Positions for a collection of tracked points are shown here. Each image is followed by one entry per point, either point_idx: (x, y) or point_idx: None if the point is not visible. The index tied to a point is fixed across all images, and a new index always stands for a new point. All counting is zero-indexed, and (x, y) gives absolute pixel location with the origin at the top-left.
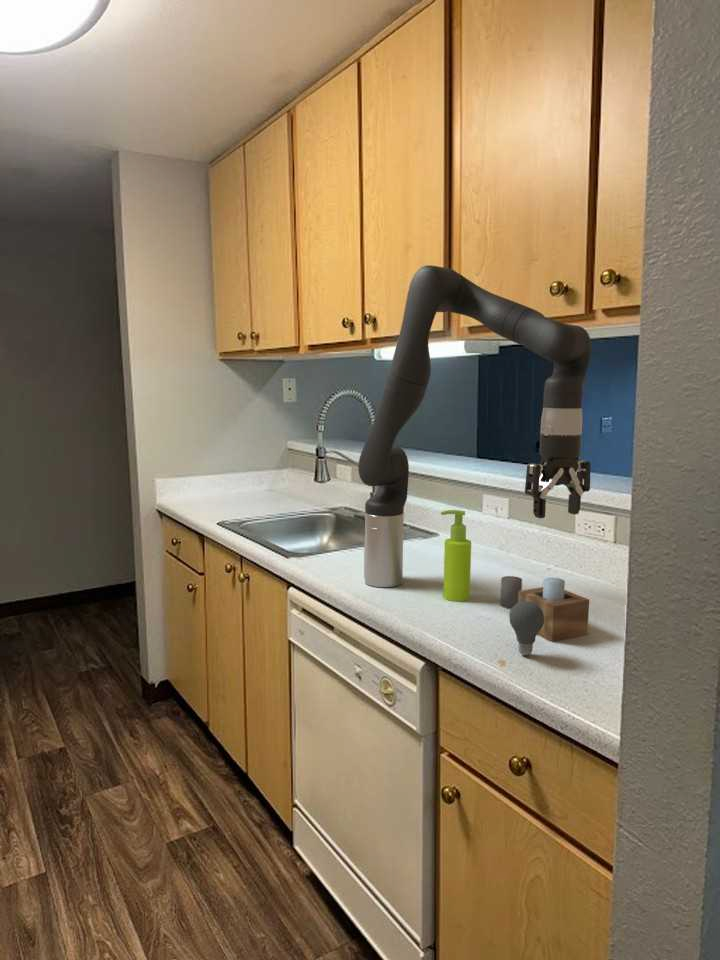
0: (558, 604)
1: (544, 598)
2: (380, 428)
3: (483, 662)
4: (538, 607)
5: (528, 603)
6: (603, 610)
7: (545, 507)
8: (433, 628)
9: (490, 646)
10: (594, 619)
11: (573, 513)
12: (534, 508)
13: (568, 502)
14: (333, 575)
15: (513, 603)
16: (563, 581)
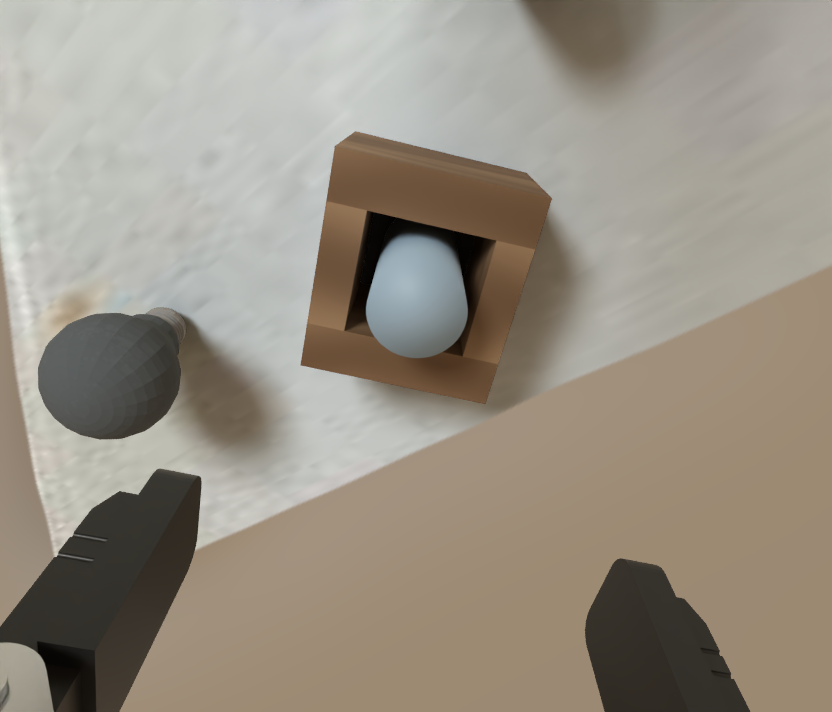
0: (334, 364)
1: (348, 289)
2: None
3: (21, 275)
4: (113, 434)
5: (72, 418)
6: (755, 254)
7: (146, 654)
8: None
9: (120, 207)
10: (630, 285)
11: (594, 609)
12: (71, 554)
13: (664, 644)
14: None
15: None
16: (439, 347)
